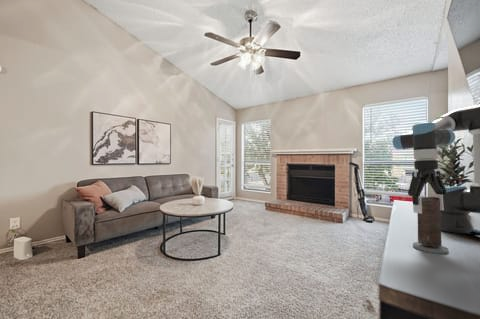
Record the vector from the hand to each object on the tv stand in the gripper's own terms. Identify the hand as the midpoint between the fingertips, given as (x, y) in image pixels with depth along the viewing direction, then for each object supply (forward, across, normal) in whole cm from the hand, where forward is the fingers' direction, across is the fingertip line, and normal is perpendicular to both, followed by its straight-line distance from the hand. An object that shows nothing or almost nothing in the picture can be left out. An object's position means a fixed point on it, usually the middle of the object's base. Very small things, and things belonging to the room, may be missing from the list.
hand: (428, 211), depth 90 cm
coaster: (+15, +1, 0) cm, 15 cm away
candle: (+14, +1, 0) cm, 14 cm away
